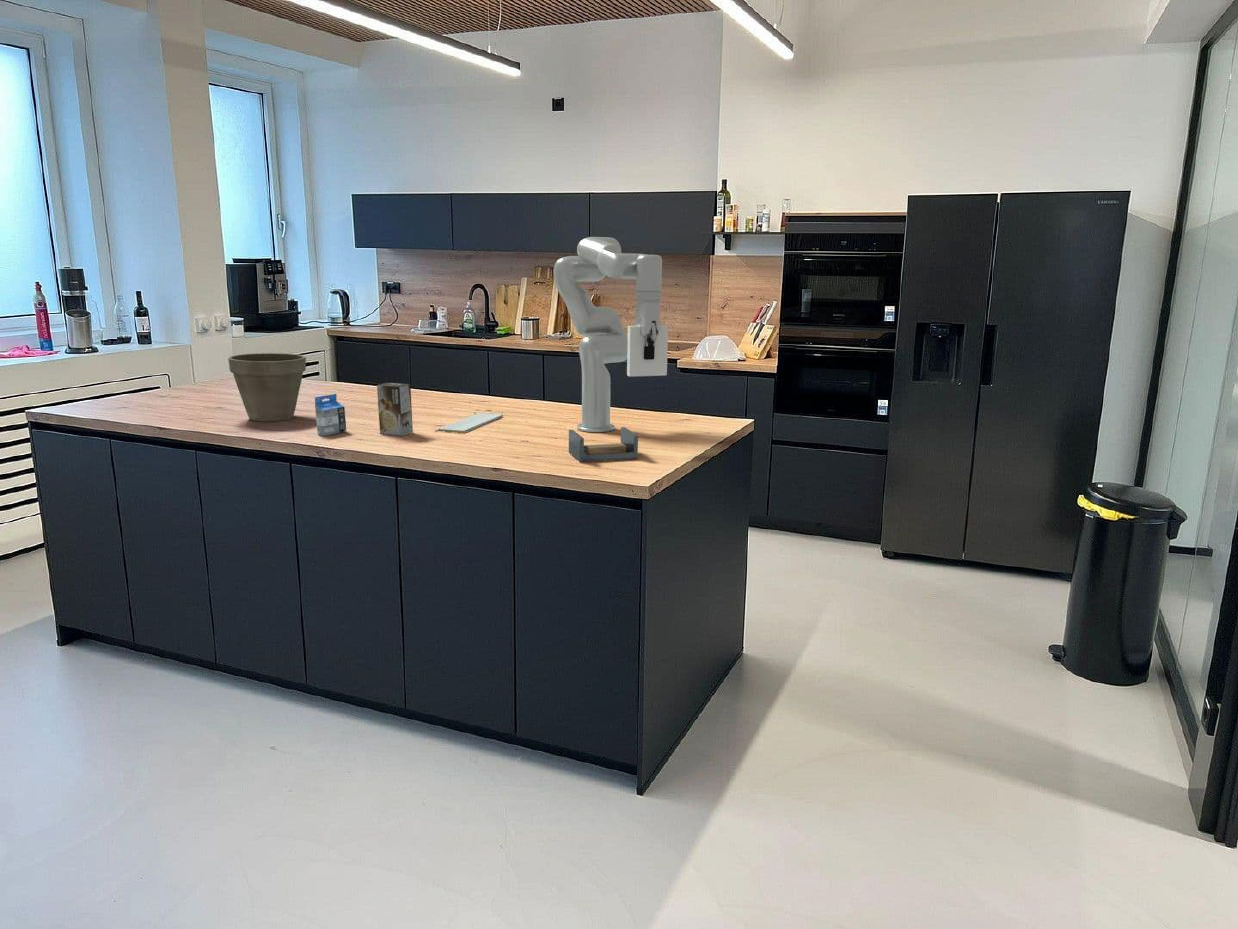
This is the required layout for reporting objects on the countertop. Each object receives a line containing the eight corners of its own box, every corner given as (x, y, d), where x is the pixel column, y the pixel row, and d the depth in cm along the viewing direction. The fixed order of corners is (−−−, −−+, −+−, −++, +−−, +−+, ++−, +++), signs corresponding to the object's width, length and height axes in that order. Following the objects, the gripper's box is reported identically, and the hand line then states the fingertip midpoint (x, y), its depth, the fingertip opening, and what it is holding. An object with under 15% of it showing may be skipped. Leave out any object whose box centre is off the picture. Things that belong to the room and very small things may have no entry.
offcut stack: (579, 458, 253) (579, 445, 252) (622, 456, 257) (622, 442, 256) (583, 462, 249) (583, 448, 248) (626, 459, 252) (626, 446, 252)
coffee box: (414, 432, 284) (411, 383, 280) (402, 436, 278) (400, 386, 274) (390, 430, 287) (388, 382, 283) (378, 433, 281) (375, 384, 277)
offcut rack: (568, 452, 258) (568, 429, 256) (624, 449, 263) (624, 427, 262) (579, 462, 247) (579, 438, 245) (637, 459, 252) (638, 435, 250)
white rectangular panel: (627, 375, 264) (627, 325, 260) (664, 374, 267) (665, 325, 264) (629, 376, 262) (630, 326, 258) (666, 375, 265) (668, 325, 262)
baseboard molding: (430, 432, 287) (463, 435, 284) (430, 424, 286) (463, 426, 283) (472, 416, 316) (503, 418, 312) (472, 408, 315) (503, 410, 312)
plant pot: (323, 413, 314) (318, 353, 309) (286, 426, 291) (281, 361, 286) (260, 410, 319) (254, 351, 313) (218, 422, 295) (212, 359, 290)
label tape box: (325, 436, 276) (322, 398, 273) (316, 434, 278) (314, 397, 275) (346, 431, 284) (344, 394, 281) (338, 430, 286) (335, 393, 283)
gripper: (628, 295, 265) (627, 355, 270) (645, 298, 250) (644, 362, 255) (651, 295, 267) (650, 355, 272) (670, 298, 252) (668, 361, 257)
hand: (647, 358), depth 263 cm, fingers closed on white rectangular panel, 2 cm apart
